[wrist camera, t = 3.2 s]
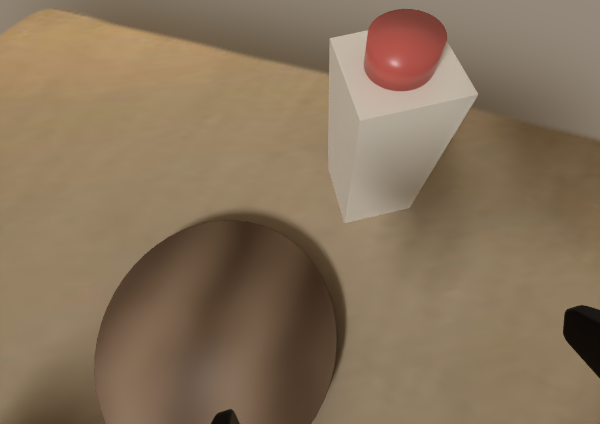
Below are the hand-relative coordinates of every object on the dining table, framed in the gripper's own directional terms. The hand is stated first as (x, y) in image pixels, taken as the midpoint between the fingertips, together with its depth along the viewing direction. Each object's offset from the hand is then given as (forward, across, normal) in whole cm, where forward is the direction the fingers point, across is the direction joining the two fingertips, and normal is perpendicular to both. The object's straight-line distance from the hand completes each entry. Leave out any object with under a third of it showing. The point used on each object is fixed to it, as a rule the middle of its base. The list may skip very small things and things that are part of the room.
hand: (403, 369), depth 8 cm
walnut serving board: (+12, +9, +7) cm, 16 cm away
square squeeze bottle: (+18, -5, +1) cm, 19 cm away
